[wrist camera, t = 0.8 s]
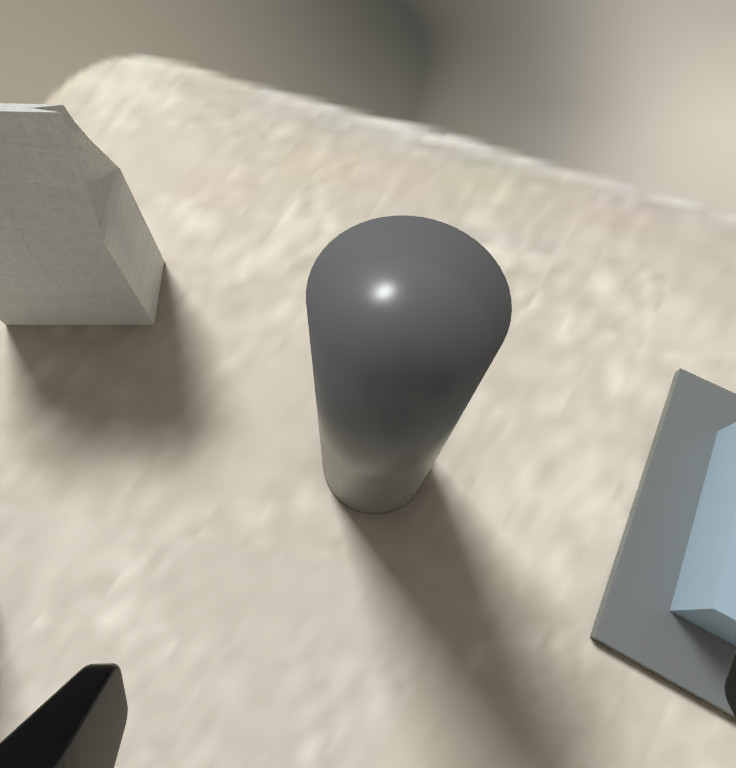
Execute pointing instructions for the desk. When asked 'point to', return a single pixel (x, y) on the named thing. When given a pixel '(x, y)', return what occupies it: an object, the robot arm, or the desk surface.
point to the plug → (398, 350)
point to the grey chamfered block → (69, 228)
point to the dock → (681, 548)
